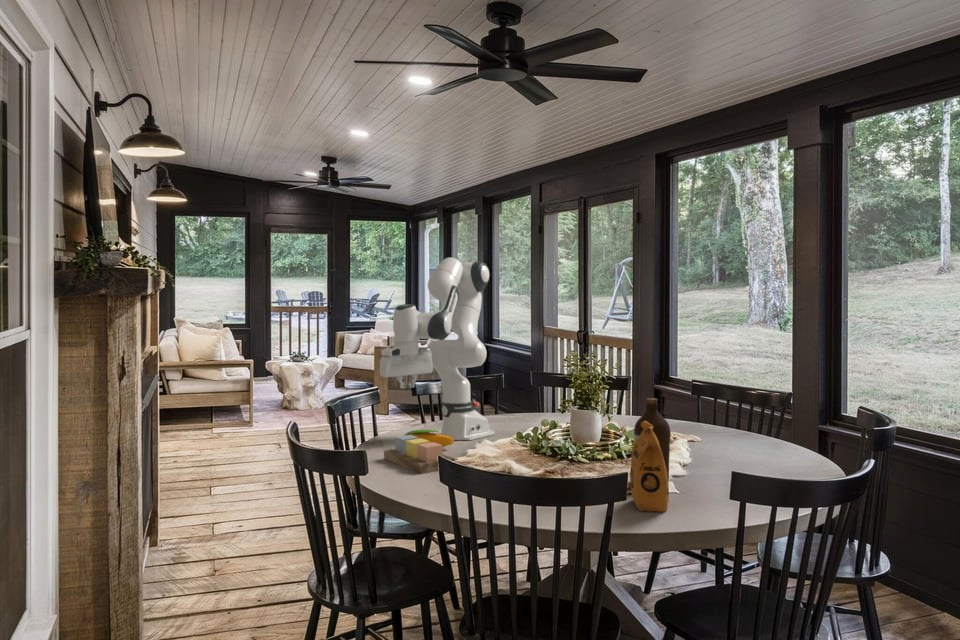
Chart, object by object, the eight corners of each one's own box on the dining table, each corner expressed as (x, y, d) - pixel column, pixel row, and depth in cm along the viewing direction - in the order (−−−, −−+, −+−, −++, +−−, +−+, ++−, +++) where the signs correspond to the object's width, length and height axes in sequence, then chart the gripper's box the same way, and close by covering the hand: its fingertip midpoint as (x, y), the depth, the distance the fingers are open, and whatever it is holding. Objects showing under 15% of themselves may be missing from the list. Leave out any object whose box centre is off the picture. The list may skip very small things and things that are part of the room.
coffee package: (631, 512, 186) (630, 428, 185) (630, 498, 198) (629, 419, 197) (670, 513, 184) (669, 429, 183) (667, 499, 196) (666, 420, 195)
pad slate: (410, 448, 254) (410, 434, 254) (418, 451, 249) (418, 437, 249) (395, 451, 251) (395, 436, 251) (403, 454, 246) (403, 439, 246)
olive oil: (664, 475, 221) (663, 395, 219) (675, 485, 210) (675, 400, 209) (630, 477, 220) (629, 396, 219) (640, 486, 209) (639, 402, 208)
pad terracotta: (433, 456, 241) (433, 442, 241) (442, 459, 236) (442, 445, 236) (417, 459, 238) (417, 444, 237) (427, 462, 233) (426, 447, 233)
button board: (416, 453, 258) (416, 445, 258) (455, 467, 237) (454, 458, 236) (384, 459, 251) (383, 450, 250) (421, 473, 229) (420, 464, 229)
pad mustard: (421, 452, 248) (421, 438, 247) (430, 455, 243) (430, 441, 242) (406, 455, 244) (406, 440, 244) (415, 458, 239) (414, 443, 239)
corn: (403, 426, 269) (456, 427, 266) (404, 446, 270) (456, 446, 267) (399, 432, 262) (452, 432, 259) (400, 452, 263) (453, 452, 260)
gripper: (426, 347, 264) (427, 384, 265) (376, 350, 253) (378, 389, 253) (435, 348, 259) (436, 385, 260) (385, 351, 247) (386, 391, 248)
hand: (407, 387), depth 256 cm, fingers open, 2 cm apart
